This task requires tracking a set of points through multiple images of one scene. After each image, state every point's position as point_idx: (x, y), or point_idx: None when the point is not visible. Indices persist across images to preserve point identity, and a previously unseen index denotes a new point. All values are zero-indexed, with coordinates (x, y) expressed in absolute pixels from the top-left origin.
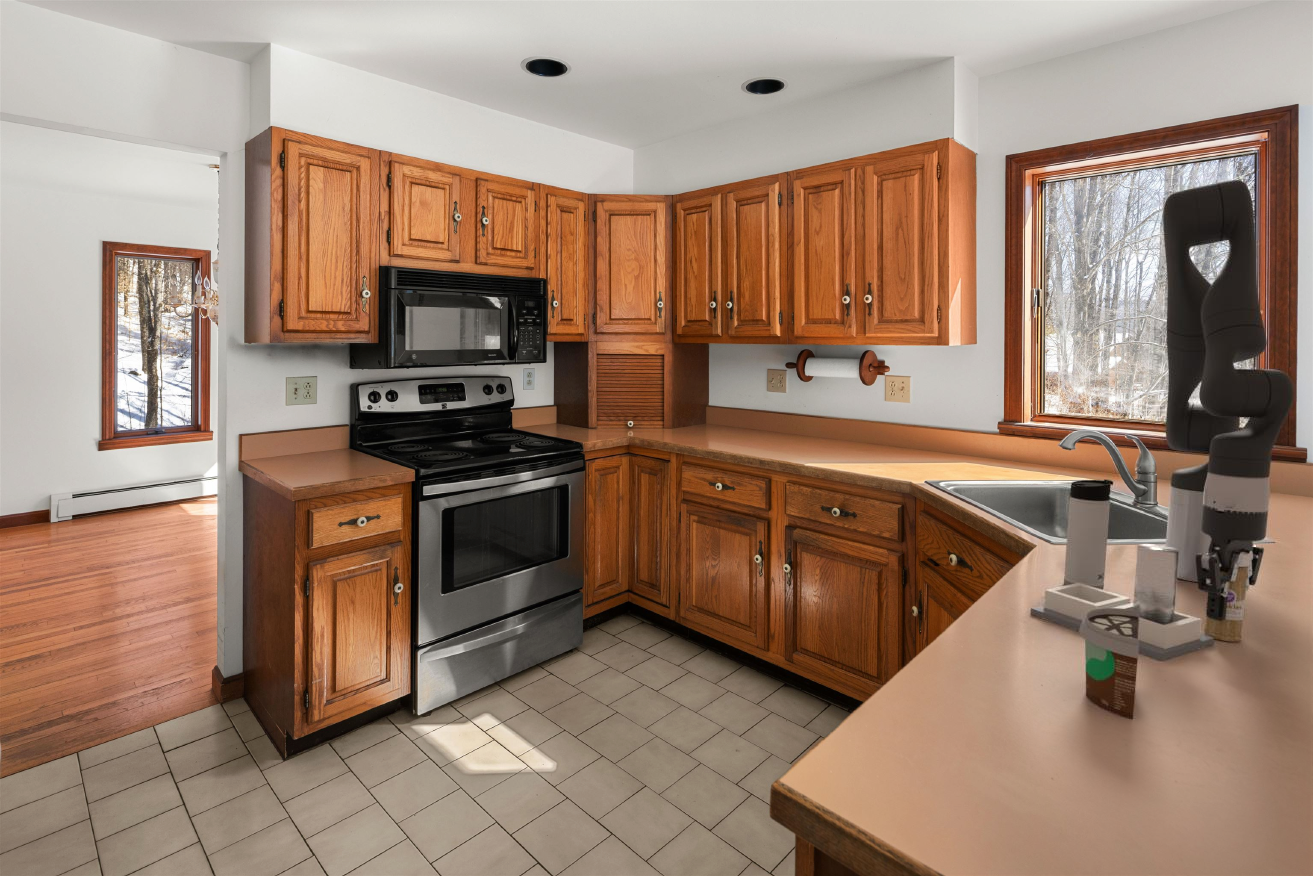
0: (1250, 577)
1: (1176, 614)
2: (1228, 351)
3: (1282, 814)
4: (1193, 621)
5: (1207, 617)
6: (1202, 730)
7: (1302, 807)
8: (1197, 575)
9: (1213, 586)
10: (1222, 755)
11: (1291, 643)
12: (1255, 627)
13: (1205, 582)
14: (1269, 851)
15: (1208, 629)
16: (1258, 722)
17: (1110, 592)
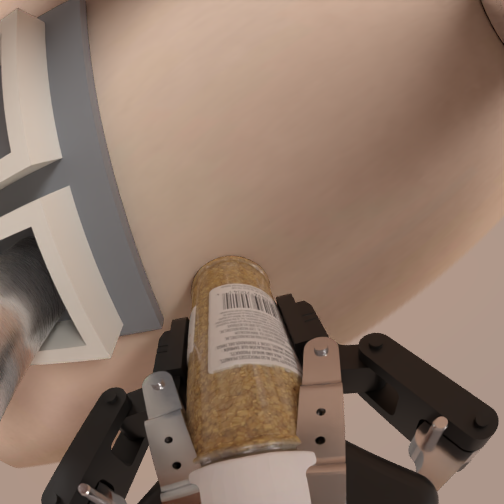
0: (367, 398)
1: (71, 316)
2: None
3: (21, 462)
4: (81, 360)
5: (195, 300)
6: (9, 427)
7: (32, 466)
8: (76, 436)
9: (117, 441)
10: (11, 440)
11: (340, 335)
12: (374, 254)
13: (121, 418)
14: (7, 462)
15: (193, 291)
16: (56, 442)
17: (17, 101)
